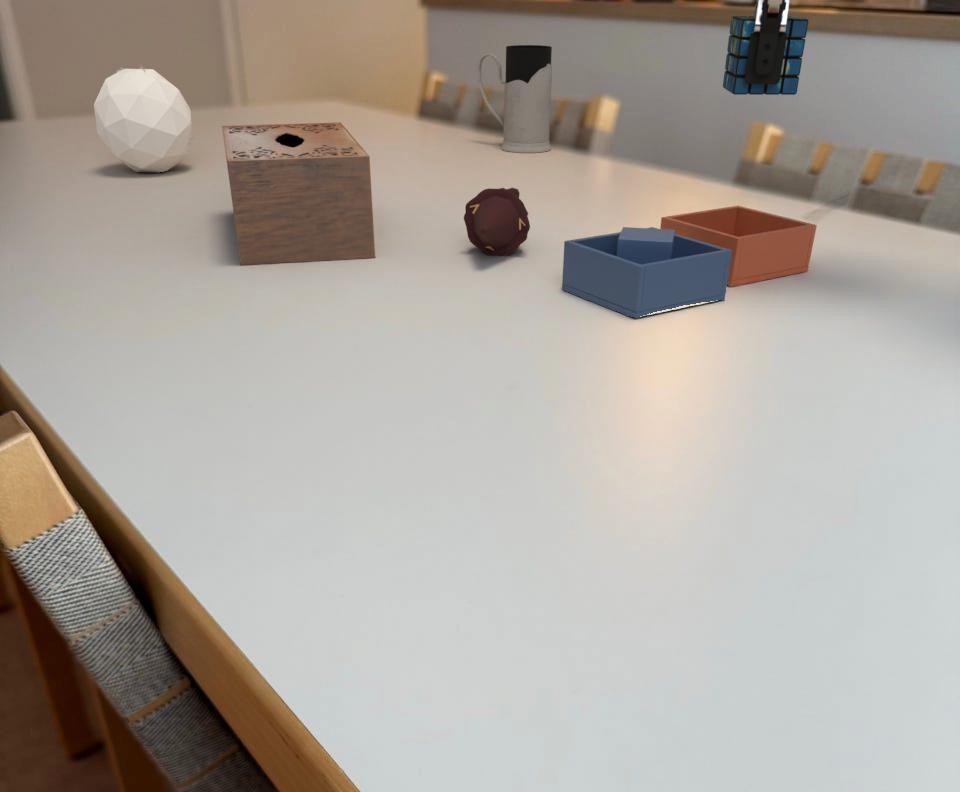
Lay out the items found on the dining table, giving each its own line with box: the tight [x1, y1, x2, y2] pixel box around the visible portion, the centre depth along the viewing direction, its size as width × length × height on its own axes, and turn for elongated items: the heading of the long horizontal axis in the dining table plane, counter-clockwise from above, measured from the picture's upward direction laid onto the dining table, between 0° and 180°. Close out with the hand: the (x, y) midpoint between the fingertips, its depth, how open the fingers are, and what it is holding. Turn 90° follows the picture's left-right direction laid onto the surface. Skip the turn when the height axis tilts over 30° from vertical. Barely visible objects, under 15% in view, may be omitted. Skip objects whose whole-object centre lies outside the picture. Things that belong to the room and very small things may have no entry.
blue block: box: [617, 226, 675, 265], centre depth 92 cm, size 5×5×5 cm
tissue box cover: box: [221, 122, 376, 266], centre depth 111 cm, size 26×14×10 cm, turn 13°
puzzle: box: [722, 15, 809, 96], centre depth 91 cm, size 6×6×6 cm
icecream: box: [463, 187, 531, 257], centre depth 104 cm, size 7×7×15 cm
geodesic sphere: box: [93, 63, 193, 173], centre depth 143 cm, size 15×14×14 cm
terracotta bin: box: [659, 205, 818, 288], centre depth 101 cm, size 11×11×5 cm
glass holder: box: [477, 44, 553, 154], centre depth 162 cm, size 9×14×15 cm, turn 57°
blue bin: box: [561, 226, 732, 319], centre depth 92 cm, size 11×11×5 cm
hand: (760, 78), depth 92 cm, fingers closed on puzzle, 6 cm apart
